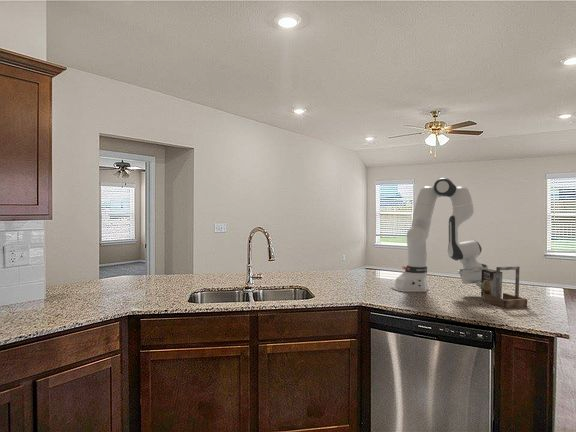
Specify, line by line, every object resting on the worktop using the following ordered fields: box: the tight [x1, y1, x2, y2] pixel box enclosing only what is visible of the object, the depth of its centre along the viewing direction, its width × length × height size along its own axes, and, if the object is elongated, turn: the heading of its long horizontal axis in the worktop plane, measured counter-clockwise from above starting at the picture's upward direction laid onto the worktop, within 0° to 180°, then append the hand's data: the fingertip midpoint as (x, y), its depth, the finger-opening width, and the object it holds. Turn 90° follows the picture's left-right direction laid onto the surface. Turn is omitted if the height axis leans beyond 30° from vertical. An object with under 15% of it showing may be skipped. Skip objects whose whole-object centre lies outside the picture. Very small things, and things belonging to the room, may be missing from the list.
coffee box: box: [480, 268, 503, 299], centre depth 226 cm, size 9×6×16 cm
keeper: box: [483, 266, 528, 309], centre depth 215 cm, size 13×15×20 cm
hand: (483, 288), depth 231 cm, fingers closed, pressing on coffee box
